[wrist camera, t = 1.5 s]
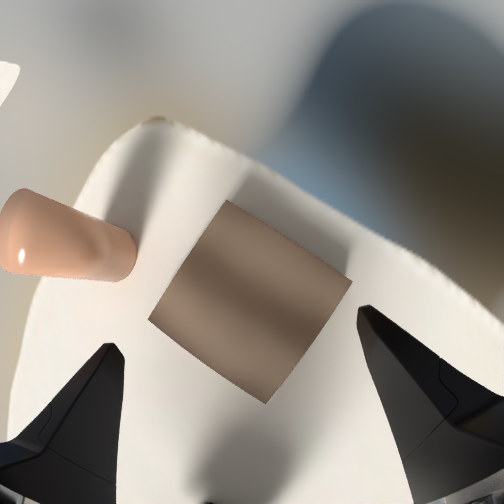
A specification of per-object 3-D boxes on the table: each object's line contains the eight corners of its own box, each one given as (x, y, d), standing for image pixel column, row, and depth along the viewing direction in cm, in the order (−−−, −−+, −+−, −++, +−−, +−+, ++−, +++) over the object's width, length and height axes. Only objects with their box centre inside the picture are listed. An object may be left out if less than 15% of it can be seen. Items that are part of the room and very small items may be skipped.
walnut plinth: (267, 390, 22) (265, 404, 19) (162, 316, 24) (147, 319, 21) (343, 282, 22) (352, 281, 19) (233, 210, 24) (226, 199, 21)
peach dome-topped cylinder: (118, 293, 24) (15, 290, 12) (86, 261, 25) (-12, 243, 13) (146, 246, 25) (49, 213, 12) (111, 217, 25) (18, 175, 13)
